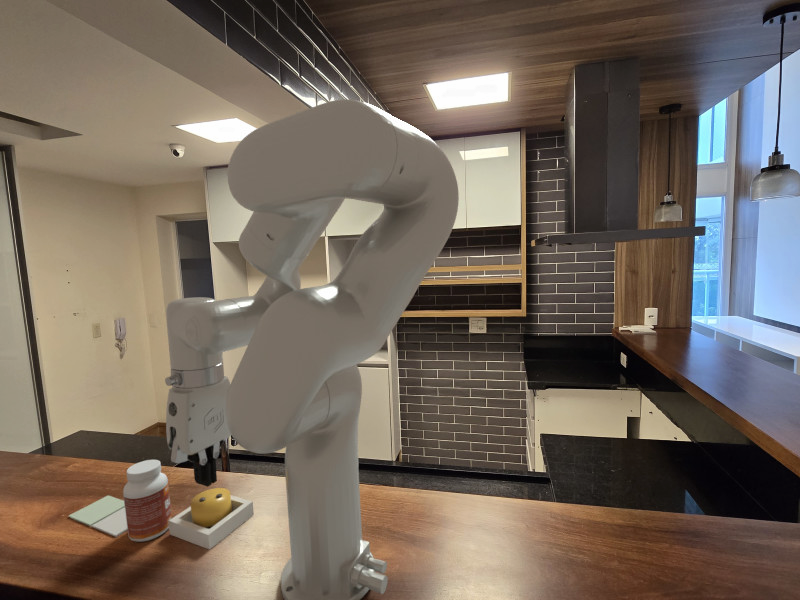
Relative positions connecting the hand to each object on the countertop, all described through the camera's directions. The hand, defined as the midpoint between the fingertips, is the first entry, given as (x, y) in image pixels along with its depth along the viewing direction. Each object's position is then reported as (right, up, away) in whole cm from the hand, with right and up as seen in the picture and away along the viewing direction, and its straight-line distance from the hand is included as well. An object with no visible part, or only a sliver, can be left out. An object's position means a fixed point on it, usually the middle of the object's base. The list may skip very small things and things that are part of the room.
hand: (206, 482), depth 67 cm
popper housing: (+1, -7, 0) cm, 7 cm away
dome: (+1, -6, 0) cm, 6 cm away
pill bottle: (-9, -8, -1) cm, 12 cm away
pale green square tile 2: (-22, -8, +5) cm, 23 cm away
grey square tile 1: (-15, -8, +2) cm, 17 cm away
